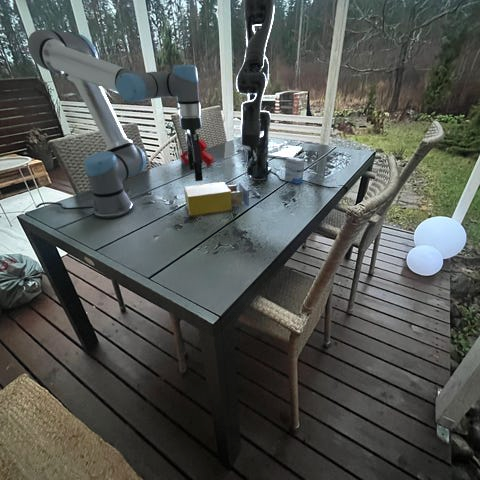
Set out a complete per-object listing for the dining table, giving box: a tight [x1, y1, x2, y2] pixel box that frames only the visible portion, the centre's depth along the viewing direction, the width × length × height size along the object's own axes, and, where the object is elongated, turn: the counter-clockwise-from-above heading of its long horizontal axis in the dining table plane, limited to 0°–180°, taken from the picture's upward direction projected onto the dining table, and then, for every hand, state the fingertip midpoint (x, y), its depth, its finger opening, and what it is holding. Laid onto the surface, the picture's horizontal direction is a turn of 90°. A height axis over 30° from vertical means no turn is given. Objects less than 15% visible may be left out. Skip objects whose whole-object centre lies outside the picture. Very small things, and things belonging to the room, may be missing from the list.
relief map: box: [268, 138, 304, 160], centre depth 192 cm, size 27×35×5 cm
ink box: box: [284, 156, 306, 185], centre depth 140 cm, size 8×5×12 cm, turn 47°
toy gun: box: [180, 138, 215, 167], centre depth 167 cm, size 18×4×15 cm
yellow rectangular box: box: [183, 181, 233, 218], centre depth 114 cm, size 17×11×9 cm, turn 108°
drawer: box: [227, 181, 261, 207], centre depth 117 cm, size 22×10×7 cm, turn 108°
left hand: (195, 175), depth 107 cm, fingers open, 13 cm apart
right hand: (250, 174), depth 115 cm, fingers closed
